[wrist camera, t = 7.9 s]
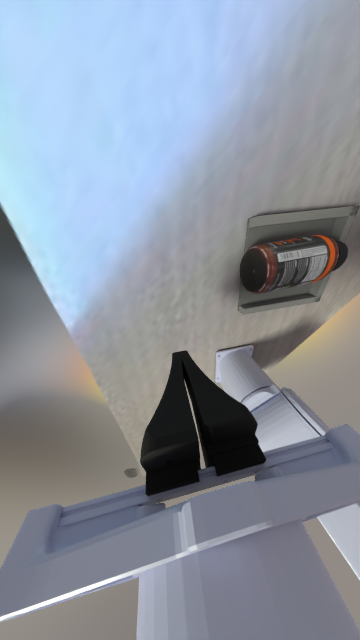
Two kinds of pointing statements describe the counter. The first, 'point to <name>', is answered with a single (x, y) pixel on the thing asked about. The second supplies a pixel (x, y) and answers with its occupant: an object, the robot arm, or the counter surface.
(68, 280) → the counter surface
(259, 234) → the tray
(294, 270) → the supplement bottle
